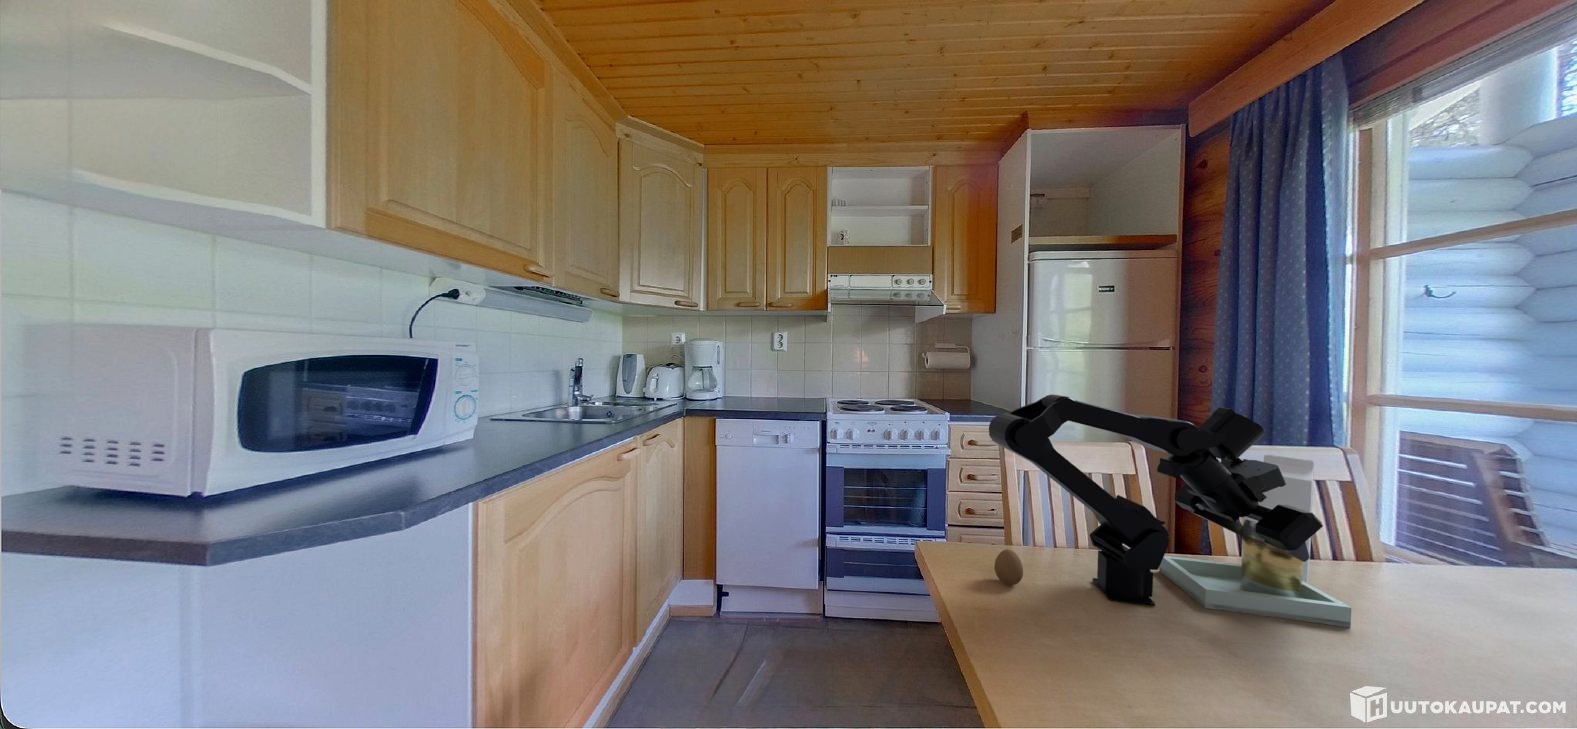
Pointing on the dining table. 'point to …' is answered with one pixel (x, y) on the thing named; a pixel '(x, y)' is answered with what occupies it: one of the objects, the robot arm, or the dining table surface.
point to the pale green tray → (1250, 593)
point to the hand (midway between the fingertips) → (1273, 546)
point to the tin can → (1268, 566)
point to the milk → (1293, 491)
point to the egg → (1008, 567)
